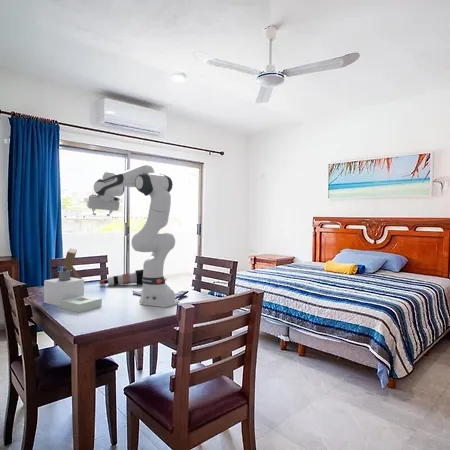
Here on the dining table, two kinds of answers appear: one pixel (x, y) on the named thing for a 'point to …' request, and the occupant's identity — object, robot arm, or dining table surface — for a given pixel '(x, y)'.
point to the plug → (64, 274)
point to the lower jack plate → (80, 303)
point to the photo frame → (71, 262)
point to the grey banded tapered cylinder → (125, 279)
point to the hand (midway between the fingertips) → (101, 215)
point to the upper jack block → (62, 290)
